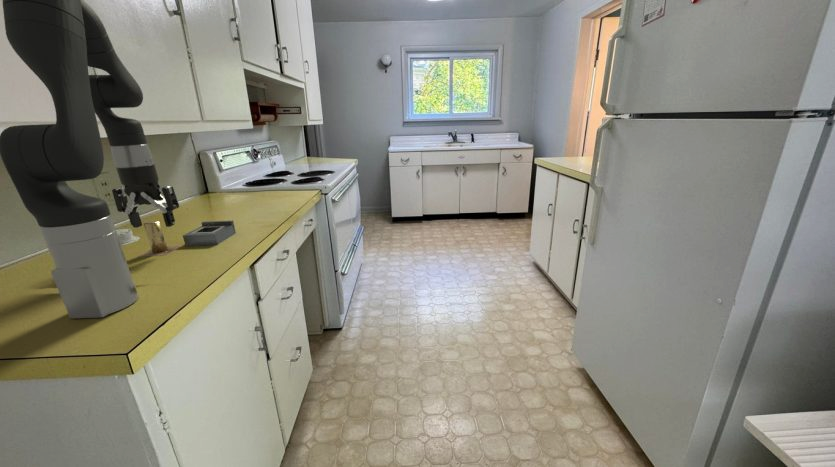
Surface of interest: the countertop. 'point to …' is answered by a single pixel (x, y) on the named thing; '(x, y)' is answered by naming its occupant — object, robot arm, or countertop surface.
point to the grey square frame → (210, 233)
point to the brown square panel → (149, 253)
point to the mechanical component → (126, 236)
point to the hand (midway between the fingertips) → (154, 226)
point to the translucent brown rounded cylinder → (155, 236)
